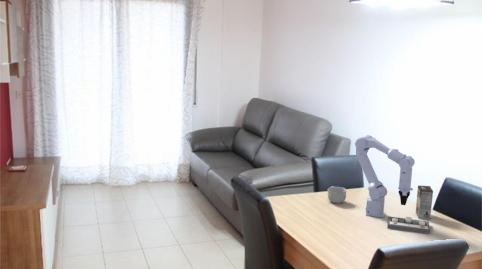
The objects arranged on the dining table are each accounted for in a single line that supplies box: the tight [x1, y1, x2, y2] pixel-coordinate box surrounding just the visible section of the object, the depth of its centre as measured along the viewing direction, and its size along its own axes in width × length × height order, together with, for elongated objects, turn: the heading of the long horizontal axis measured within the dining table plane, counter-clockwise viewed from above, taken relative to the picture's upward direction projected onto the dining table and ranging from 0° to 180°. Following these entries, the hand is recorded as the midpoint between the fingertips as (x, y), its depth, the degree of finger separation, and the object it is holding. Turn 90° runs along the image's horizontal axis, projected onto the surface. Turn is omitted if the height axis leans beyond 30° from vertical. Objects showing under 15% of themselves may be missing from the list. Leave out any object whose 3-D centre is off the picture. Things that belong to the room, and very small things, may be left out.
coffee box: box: [415, 185, 434, 220], centre depth 236 cm, size 9×6×16 cm
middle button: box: [405, 216, 413, 223], centre depth 222 cm, size 3×3×2 cm
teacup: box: [327, 185, 347, 205], centre depth 259 cm, size 14×11×8 cm
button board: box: [387, 216, 431, 235], centre depth 222 cm, size 20×12×2 cm, turn 70°
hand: (403, 204), depth 227 cm, fingers closed
